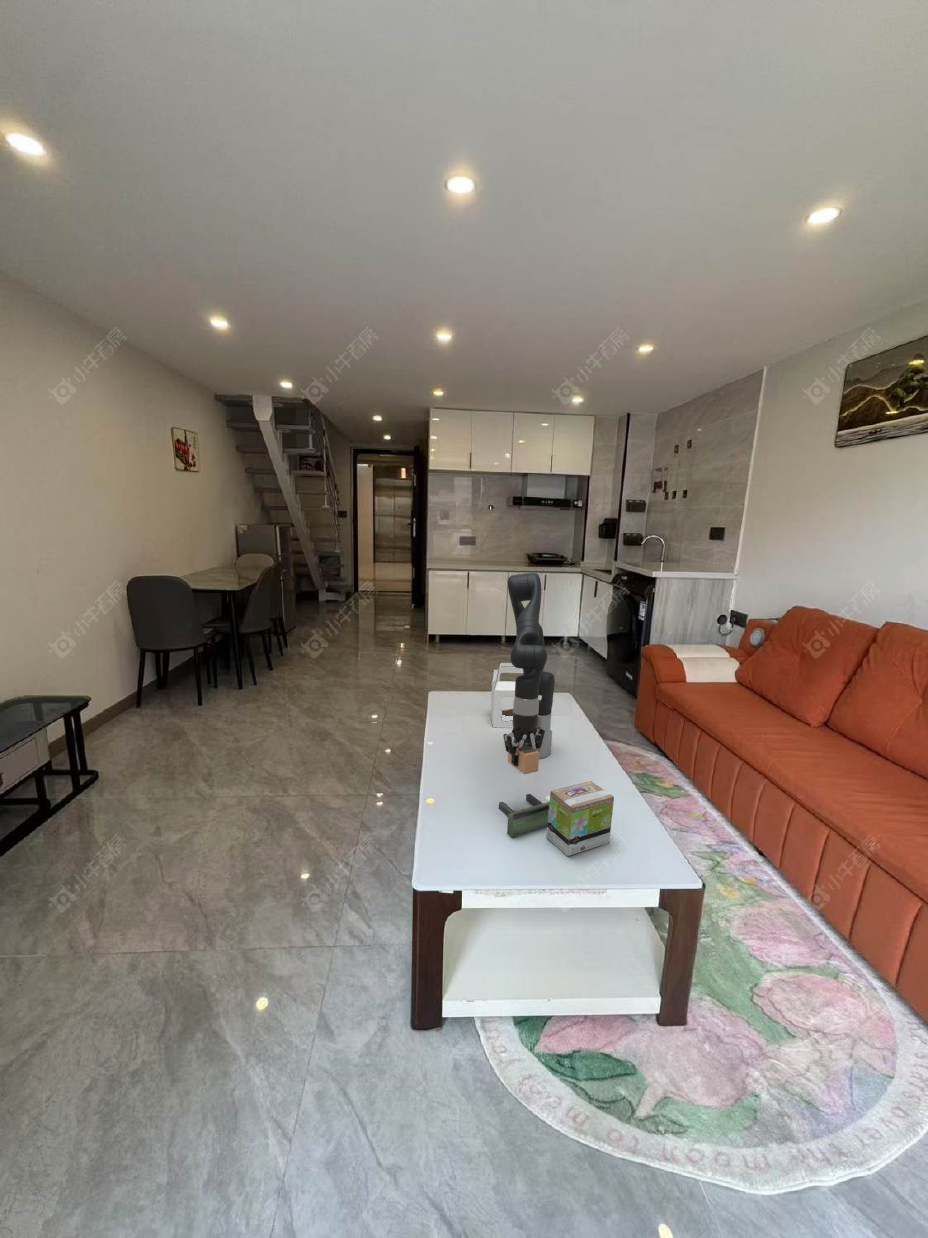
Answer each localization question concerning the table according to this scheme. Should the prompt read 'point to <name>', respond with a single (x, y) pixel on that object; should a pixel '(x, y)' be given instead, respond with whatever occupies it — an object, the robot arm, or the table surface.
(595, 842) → the tea box
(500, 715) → the gable box
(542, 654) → the robot arm
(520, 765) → the framed panel box
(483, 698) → the table surface
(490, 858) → the table surface
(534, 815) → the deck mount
